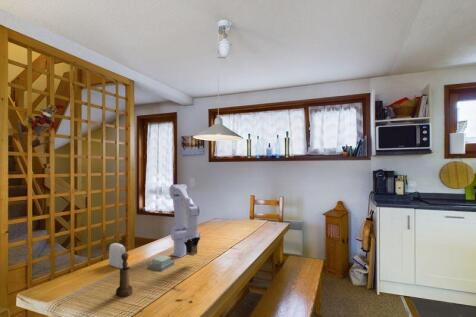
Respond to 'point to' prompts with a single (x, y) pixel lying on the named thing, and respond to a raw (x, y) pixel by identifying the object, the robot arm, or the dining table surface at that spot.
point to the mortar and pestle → (124, 279)
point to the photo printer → (116, 255)
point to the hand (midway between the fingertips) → (191, 251)
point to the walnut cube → (193, 251)
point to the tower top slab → (161, 260)
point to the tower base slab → (160, 266)
